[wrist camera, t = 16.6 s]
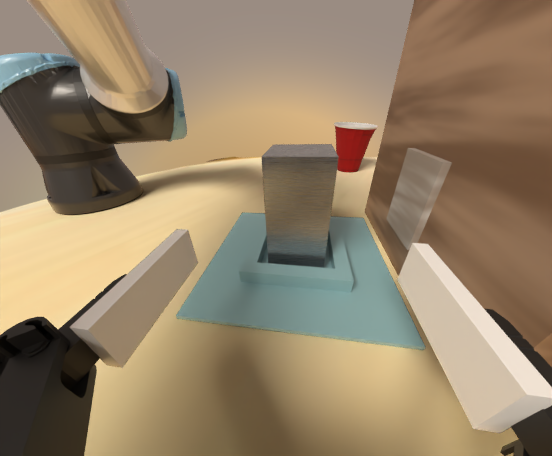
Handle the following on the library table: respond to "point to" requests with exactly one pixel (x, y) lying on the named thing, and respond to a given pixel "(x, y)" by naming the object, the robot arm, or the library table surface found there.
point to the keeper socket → (304, 288)
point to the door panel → (474, 154)
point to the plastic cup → (352, 144)
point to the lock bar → (298, 202)
